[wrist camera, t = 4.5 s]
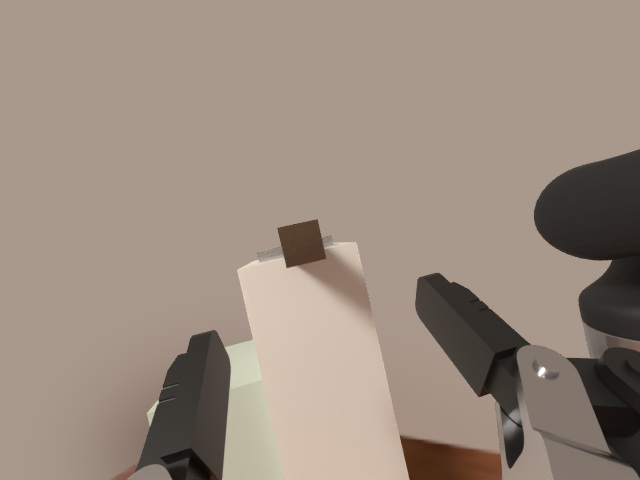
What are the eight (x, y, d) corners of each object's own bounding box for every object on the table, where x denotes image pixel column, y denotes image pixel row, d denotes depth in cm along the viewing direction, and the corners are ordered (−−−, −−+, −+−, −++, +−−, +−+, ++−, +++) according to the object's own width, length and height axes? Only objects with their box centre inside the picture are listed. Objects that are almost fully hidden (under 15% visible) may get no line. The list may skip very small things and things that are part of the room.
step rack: (379, 463, 35) (330, 242, 34) (434, 592, 22) (356, 242, 22) (232, 516, 32) (176, 278, 32) (195, 697, 19) (101, 301, 19)
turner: (321, 245, 33) (317, 230, 33) (373, 247, 13) (365, 208, 13) (266, 257, 32) (263, 242, 32) (234, 280, 12) (225, 239, 12)
